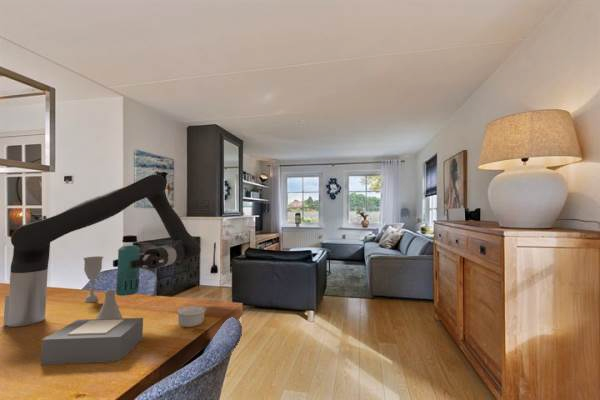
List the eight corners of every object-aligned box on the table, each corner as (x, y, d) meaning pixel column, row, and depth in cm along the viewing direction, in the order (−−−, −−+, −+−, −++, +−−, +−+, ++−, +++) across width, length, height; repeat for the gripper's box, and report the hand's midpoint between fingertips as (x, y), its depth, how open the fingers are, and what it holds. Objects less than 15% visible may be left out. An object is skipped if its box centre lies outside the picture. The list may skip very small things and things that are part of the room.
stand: (40, 364, 68) (42, 337, 68) (76, 340, 81) (78, 318, 81) (119, 361, 70) (120, 335, 70) (142, 338, 83) (143, 316, 83)
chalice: (92, 303, 114) (95, 259, 115) (76, 303, 114) (78, 258, 115) (105, 298, 121) (107, 256, 122) (90, 297, 122) (92, 256, 122)
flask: (108, 324, 93) (110, 294, 93) (90, 322, 94) (92, 292, 95) (126, 316, 100) (127, 288, 101) (109, 315, 101) (110, 287, 102)
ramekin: (193, 316, 102) (193, 304, 102) (210, 321, 97) (210, 308, 97) (171, 324, 94) (171, 311, 94) (188, 330, 89) (189, 316, 90)
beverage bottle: (121, 302, 85) (124, 236, 86) (110, 298, 89) (114, 235, 90) (142, 296, 91) (145, 235, 92) (132, 293, 94) (135, 234, 95)
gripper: (144, 245, 106) (104, 251, 90) (177, 247, 103) (142, 253, 87) (143, 265, 106) (103, 274, 90) (176, 268, 102) (141, 278, 86)
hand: (122, 264), depth 88 cm, fingers closed on beverage bottle, 6 cm apart
